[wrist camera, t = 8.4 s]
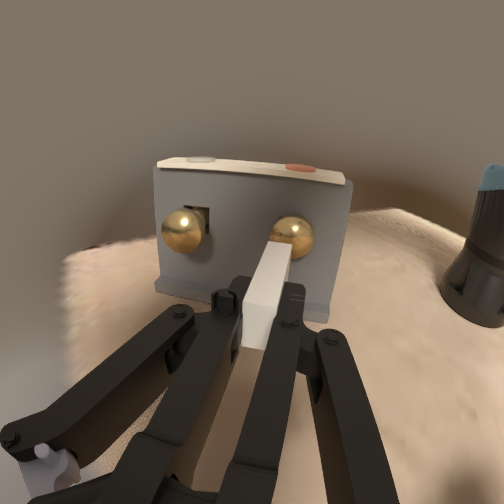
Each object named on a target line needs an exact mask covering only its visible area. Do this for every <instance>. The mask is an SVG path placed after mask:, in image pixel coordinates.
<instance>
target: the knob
mask: <svg viewBox="0 0 504 504" xmlns="http://www.w3.org/2000/svg"><path fill="white" fill-rule="evenodd" d="M209 214H210V208H209V207H199V206H192V210H191V209H187V208H181V209H177V210H176V211H174V212H172V213H171V214H169V215H168V216H167V217H166V218H165V219H164V220H163V222H162V225H161V234H162V238H163V240H164V242H165V243H166V245H167V246H168V247H169V248H171V249H172V250H173V251H175V252H178V253H189V252H192V251H193V250H194V249H195V248H196V247H197V246H198V245H199V244H200V243H201V242H202V241H203V239H204V237H205V225H206V226H209Z"/></svg>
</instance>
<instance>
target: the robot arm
mask: <svg viewBox="0 0 504 504" xmlns="http://www.w3.org/2000/svg"><path fill="white" fill-rule="evenodd" d="M291 250H292V244H286V243H279V242H272V241H268V243H267V246H266V248H265V250H264V253H263V255H262V257H261V260H260V262H259V264H258V267H257V269H256V271H255V274H254V276H253V277H248V276H241V275H239V276H237V277H236V278H234V279H233V280H232V282H231V284H230V286H229V288H228V289H218V290H216V291H214V292H213V293H212V294H211V305H212V309H211V311H210V312H205V313H194V310H193V309H192V307H190V306H188V305H185V304H177V305H173V306H171V307H169V308H168V309H167V310H165V311H164V312H163V313H162V314H160V315H159V316H158V317H157V318H156V319H154V320H153V321H152V322H151V323H149V324H148V325H147V326H146V327H144V328H143V329H142V330H141V331H140V332H138V333H137V334H136V335H135V336H133V337H132V338H131V339H130V340H129V341H127V342H126V343H125V344H124V345H122V346H121V347H120V348H119V349H118V350H116V351H115V352H114V353H113V354H112V355H110V356H109V357H108V358H107V359H105V360H104V361H103V362H102V363H101V364H99V365H98V366H97V367H96V368H95V369H93V370H92V371H91V372H90V373H89V374H87V375H86V376H85V377H84V378H83V379H81V380H80V381H79V382H78V383H76V384H75V385H74V386H73V387H72V388H70V389H69V390H68V391H67V392H66V393H64V394H63V395H62V396H61V397H60V398H58V400H56V401H55V402H54V403H53V404H51V405H50V406H49V407H48V408H47V409H45V410H43V411H41V412H38V413H36V414H33V415H30V416H28V417H25V418H22V419H20V420H17V421H14V422H11V423H8V424H7V425H5V426H4V427H3V428H2V430H1V432H0V443H1V446H2V447H3V448H4V449H5V450H6V451H7V452H8V453H9V454H10V455H11V456H13V457H14V458H15V459H16V460H17V461H18V463H19V466H20V469H21V472H22V475H23V478H24V481H25V483H26V486H27V488H28V491H29V493H30V496H31V498H32V500H30V501H29V502H28V503H27V504H271V502H272V497H273V493H274V489H275V485H276V480H277V476H278V467H279V462H280V457H281V452H282V447H283V442H284V437H285V432H286V427H287V422H288V416H289V411H290V405H291V399H292V393H293V387H294V381H295V375H296V371H297V372H299V373H302V374H304V375H306V380H307V386H308V391H309V396H310V402H311V407H312V412H313V418H314V423H315V429H316V434H317V440H318V446H319V452H320V458H321V464H322V470H323V476H324V482H325V488H326V495H327V501H328V504H400V503H399V500H398V496H397V492H396V488H395V485H394V481H393V477H392V474H391V470H390V467H389V463H388V460H387V456H386V453H385V450H384V446H383V443H382V440H381V437H380V433H379V430H378V427H377V424H376V421H375V418H374V415H373V412H372V409H371V406H370V403H369V400H368V397H367V394H366V391H365V388H364V386H363V383H362V380H361V377H360V374H359V372H358V369H357V366H356V363H355V361H354V358H353V355H352V353H351V350H350V347H349V345H348V342H347V339H346V337H345V336H344V334H342V333H341V332H340V331H337V330H335V329H323V330H321V331H320V332H319V333H317V332H314V331H312V330H310V329H309V328H307V327H306V326H305V325H304V323H303V312H304V304H305V295H306V289H305V287H304V285H303V284H298V283H291V282H288V274H289V266H290V258H291ZM440 292H441V294H442V296H443V298H444V299H445V301H446V302H447V303H448V304H449V305H450V306H451V307H452V308H453V309H454V310H455V311H456V312H457V313H459V314H460V315H461V316H463V317H464V318H466V319H468V320H470V321H472V322H474V323H476V324H478V325H481V326H484V327H489V328H499V327H502V326H504V165H500V164H489V165H487V166H486V167H485V168H484V170H483V174H482V178H481V182H480V186H479V188H478V195H477V200H476V205H475V209H474V213H473V217H472V220H471V224H470V228H469V232H468V235H467V238H466V241H465V244H464V247H463V249H462V250H461V252H460V253H459V255H458V256H457V258H456V259H455V260H454V262H453V263H452V264H451V266H450V267H449V268H448V270H447V271H446V272H445V274H444V276H443V279H442V282H441V284H440ZM240 342H241V346H244V347H249V348H254V349H260V350H265V352H264V356H263V359H262V363H261V367H260V370H259V374H258V377H257V381H256V384H255V388H254V391H253V394H252V398H251V401H250V405H249V408H248V411H247V415H246V418H245V421H244V424H243V428H242V431H241V434H240V437H239V440H238V444H237V447H236V450H235V453H234V456H233V459H232V460H231V462H230V463H229V465H228V468H227V470H226V473H225V476H224V479H223V482H222V485H221V488H220V491H219V493H216V492H200V491H194V490H192V489H190V488H191V485H192V481H193V474H194V470H195V467H196V464H197V462H198V459H199V457H200V454H201V452H202V449H203V447H204V444H205V441H206V439H207V436H208V434H209V431H210V429H211V426H212V423H213V421H214V418H215V415H216V413H217V410H218V408H219V405H220V402H221V400H222V397H223V394H224V392H225V389H226V386H227V384H228V381H229V378H230V376H231V373H232V370H233V367H234V365H235V362H236V359H237V356H238V354H239V344H240ZM168 386H169V387H168ZM167 387H168V389H167V391H166V393H165V394H164V396H163V398H162V400H161V402H160V404H159V405H158V407H157V409H156V411H155V413H154V415H153V416H152V418H151V420H150V422H149V424H148V426H147V427H146V429H145V430H144V431H143V432H137V433H136V434H135V435H134V436H133V437H132V439H131V440H130V442H129V444H128V446H127V447H126V449H125V451H124V453H123V455H122V456H121V458H120V460H119V462H118V464H117V465H116V467H115V469H114V471H113V472H110V473H108V474H105V475H103V476H100V477H98V478H95V479H92V480H89V481H87V482H84V483H81V484H78V485H75V486H72V487H70V485H72V484H73V483H78V482H79V481H80V479H81V476H80V469H82V468H84V467H86V466H87V465H89V464H90V463H92V462H93V461H95V460H96V459H97V458H98V457H99V456H100V455H102V454H103V453H104V452H105V451H106V450H107V449H108V448H109V447H110V446H111V445H112V444H113V443H114V442H115V441H116V440H117V439H118V438H119V437H120V436H121V435H122V434H123V433H124V432H125V431H126V430H127V429H128V428H129V427H130V426H131V425H132V424H133V423H134V422H135V421H136V420H137V419H138V418H139V416H140V415H141V414H142V413H143V412H144V411H145V410H146V409H147V408H148V407H149V406H150V405H151V404H152V403H153V402H154V401H155V400H156V399H157V398H158V397H159V396H160V395H161V394H162V393H163V392H164V391H165V389H166V388H167Z"/></svg>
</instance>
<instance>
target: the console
mask: <svg viewBox="0 0 504 504" xmlns="http://www.w3.org/2000/svg"><path fill="white" fill-rule="evenodd" d="M153 176H154V200H155V217H156V231H157V243H158V254H159V264H160V273H161V276H160V277H159V278H158V279H157V280H156V281H155V289H156V292H160V293H164V294H168V295H173V296H177V297H182V298H186V299H191V300H196V301H200V302H205V303H210V304H211V294H212V293H213V292H214V291H216V290H218V289H228V288H229V286H230V284H231V282H232V280H233V279H234V278H236V277H237V276H239V275H241V276H248V277H253V276H254V274H255V271H256V269H257V267H258V264H259V262H260V260H261V257H262V255H263V253H264V250H265V248H266V246H267V243H268V241H270V234H271V231H272V228H273V226H274V224H275V222H276V221H277V220H278V219H279V218H280V217H281V216H283V215H286V214H291V213H294V214H299V215H302V216H304V217H305V218H307V219H308V220H310V223H311V224H312V227H313V230H314V241H313V246H312V248H311V250H310V251H309V252H308V253H307V254H306V255H305V256H303V257H300V258H297V259H290V266H289V274H288V282H291V283H298V284H303V285H304V287H305V289H306V295H305V304H304V312H303V320H306V321H313V322H320V323H327V321H328V317H329V305H330V300H331V296H332V292H333V288H334V284H335V280H336V275H337V271H338V266H339V262H340V257H341V252H342V247H343V242H344V237H345V232H346V227H347V221H348V215H349V210H350V204H351V198H352V191H353V183H352V182H351V181H350V180H345V178H344V175H343V174H342V173H341V172H335V171H329V170H322V169H316V168H315V167H312V166H307V165H300V164H286V165H281V164H271V163H263V162H251V161H239V160H224V159H215V158H214V157H207V156H197V157H188V158H179V157H173V158H170V159H166V160H163V161H159V162H157V165H155V166H153ZM192 206H199V207H209V208H210V214H209V226H206V225H205V237H204V239H203V241H202V242H201V243H200V244H199V245H198V246H197V247H196V248H195V249H194V250H193V251H192V252H189V253H178V252H175V251H173V250H172V249H171V248H169V247H168V246H167V245H166V243H165V242H164V240H163V238H162V234H161V225H162V222H163V220H164V219H165V218H166V217H167V216H168V215H169V214H171V213H172V212H174V211H176V210H177V209H181V208H187V209H191V210H192Z"/></svg>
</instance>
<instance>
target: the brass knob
mask: <svg viewBox="0 0 504 504" xmlns="http://www.w3.org/2000/svg"><path fill="white" fill-rule="evenodd" d="M270 241H272V242H279V243H286V244H292V250H291V258H290V259H297V258H300V257H303V256H305V255H306V254H307V253H308V252H309V251H310V250H311V248H312V246H313V241H314V230H313V227H312V224H311V223H310V220H308V219H307V218H305V217H304V216H302V215H299V214H294V213H291V214H286V215H283V216H281V217H280V218H279V219H278V220H277V221H276V222H275V224H274V226H273V228H272V231H271V234H270Z"/></svg>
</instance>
